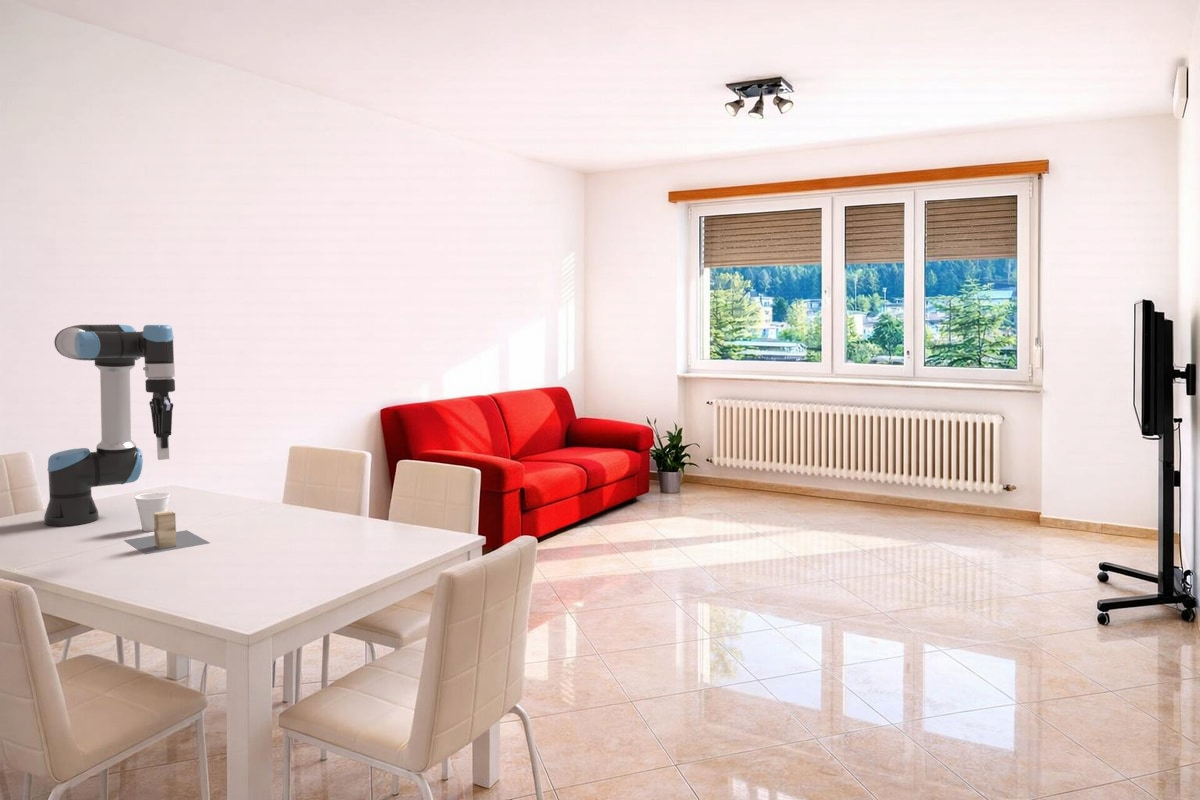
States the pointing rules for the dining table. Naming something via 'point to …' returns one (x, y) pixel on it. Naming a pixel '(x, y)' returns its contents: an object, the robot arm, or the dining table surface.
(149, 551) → the mat
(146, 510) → the cup
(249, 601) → the dining table surface
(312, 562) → the dining table surface
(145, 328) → the robot arm
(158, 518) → the beech block
